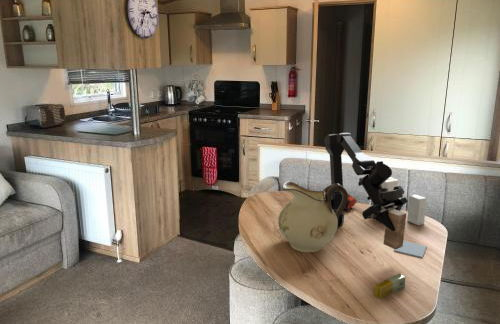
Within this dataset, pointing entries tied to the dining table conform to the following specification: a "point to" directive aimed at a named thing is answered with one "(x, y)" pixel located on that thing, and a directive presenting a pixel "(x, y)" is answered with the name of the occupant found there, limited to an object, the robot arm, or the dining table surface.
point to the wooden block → (397, 236)
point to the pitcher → (310, 216)
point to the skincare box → (416, 209)
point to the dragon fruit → (351, 201)
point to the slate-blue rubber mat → (412, 249)
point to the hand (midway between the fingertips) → (398, 229)
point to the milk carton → (390, 184)
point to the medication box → (389, 286)
